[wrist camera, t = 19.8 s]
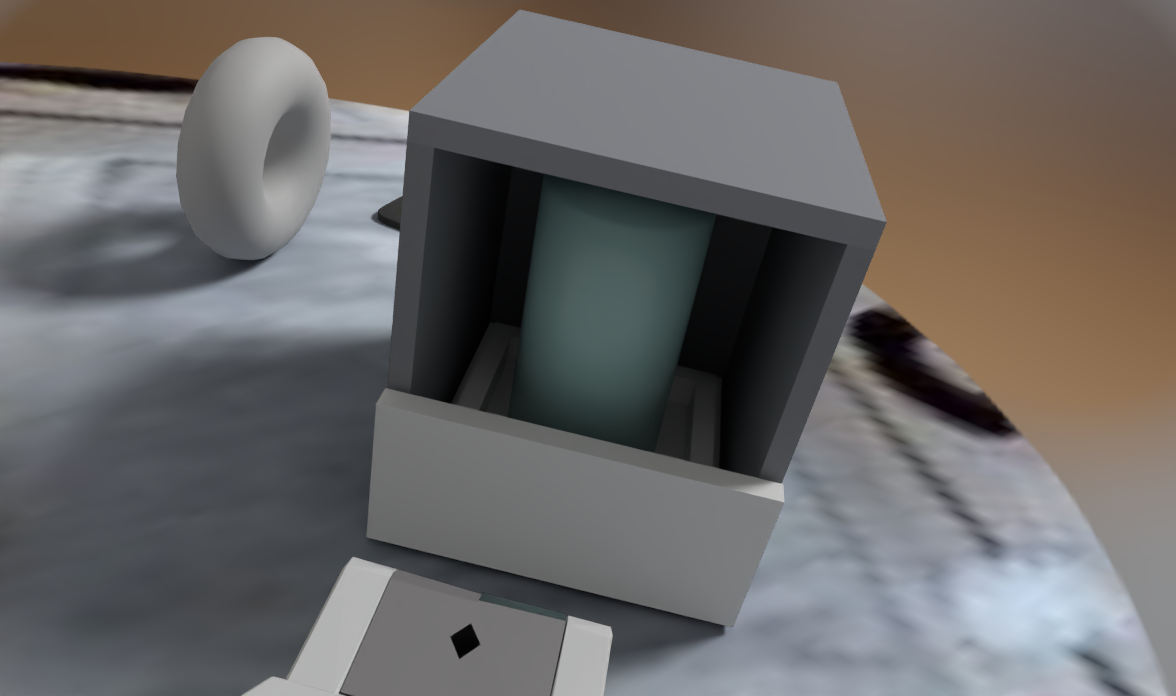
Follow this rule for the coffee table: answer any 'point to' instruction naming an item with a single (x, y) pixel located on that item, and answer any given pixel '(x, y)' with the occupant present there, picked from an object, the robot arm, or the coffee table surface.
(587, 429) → the sage green cylinder
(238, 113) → the donut
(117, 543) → the coffee table surface
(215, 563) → the coffee table surface
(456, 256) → the housing
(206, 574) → the coffee table surface
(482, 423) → the tray
